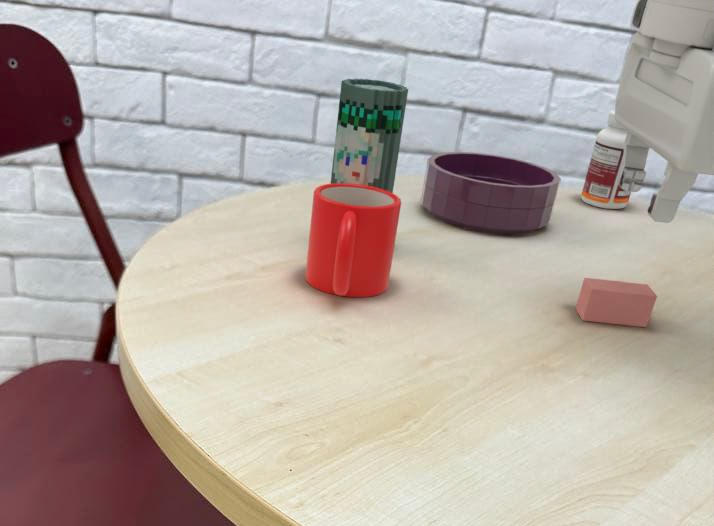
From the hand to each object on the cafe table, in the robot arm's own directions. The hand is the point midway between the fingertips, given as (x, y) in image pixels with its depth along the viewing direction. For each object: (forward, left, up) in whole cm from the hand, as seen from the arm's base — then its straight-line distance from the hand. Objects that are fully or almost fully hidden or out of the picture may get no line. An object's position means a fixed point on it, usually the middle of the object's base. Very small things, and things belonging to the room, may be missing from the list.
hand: (642, 204), depth 73 cm
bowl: (+8, -30, -10) cm, 33 cm away
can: (+24, -14, -11) cm, 29 cm away
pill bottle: (-10, -43, -11) cm, 45 cm away
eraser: (0, 0, -10) cm, 10 cm away
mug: (+25, 0, -11) cm, 27 cm away
